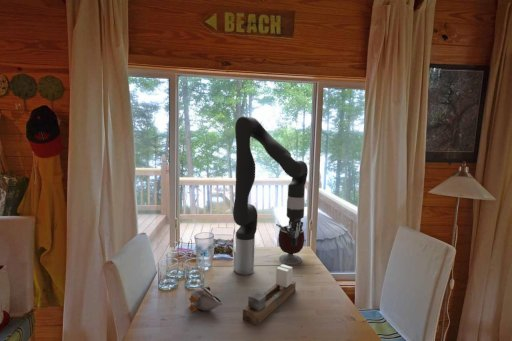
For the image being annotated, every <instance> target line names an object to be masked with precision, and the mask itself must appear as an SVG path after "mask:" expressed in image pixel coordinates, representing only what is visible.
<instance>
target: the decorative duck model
mask: <svg viewBox="0 0 512 341" xmlns="http://www.w3.org/2000/svg"><path fill="white" fill-rule="evenodd" d="M188 300H189V302H190V306H189V307H188V309H189V310H190V313H193V312H195V311H196V310H198V309H199V310H201V311H210V310H214V309H217V308H219V307H220V306H222V305H223V304H222V300H221V299H219V298H218V297H217V296H216V295H214V294H213V293H212V292H211V287H209V286H204V287H198V288H196V289H194V290H193V292H192V294H191V295H190V297H189V298H188Z"/></svg>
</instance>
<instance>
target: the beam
mask: <svg viewBox="0 0 512 341" xmlns="http://www.w3.org/2000/svg"><path fill="white" fill-rule="evenodd" d="M296 286H297V283H296V281H294V280H292V283H291V284H290V285H289V286H288V287H287V288H286V287H284V288H283V289H282V290H280V289H279V288H280V285H277V284H276V283H275V284H274V285H272V286H271V287H270V288H269V289H267V290H265V291H264V292H263V293H259V292H257V291H253V292H252V293H251V294H249V295H248V296H247V297H248V302H247V303H248V305H247V306H245V307H244V308H242V320H243V321H245V322H248V323H250V324H252V325H254V326H258V325H259V324H260V323H261V322H262V321H263V320H264V319H266V318H267V317H268V316H269V315H270V314H271V313H272V312H273V311H275V310H276V308H278V307H279V306H280V305H281V304H283V302H284V301H286V300H287V299H288V298H289V297H290V296H291V295H292V294H294V292H296Z"/></svg>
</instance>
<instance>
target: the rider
mask: <svg viewBox="0 0 512 341" xmlns="http://www.w3.org/2000/svg"><path fill="white" fill-rule="evenodd" d="M293 269H294V268H293V266H290V265H288V264H287V265H286V264H284V263H282V264H281V265H278V266H277V267H276V271H275V272H276V273H275V274H276V275H275V284H277V285H280V288H279V289H280V290H282V289H283V288H284V287H286V288H287V287H288V286H289V285H290V284H291V283H292V281H293Z"/></svg>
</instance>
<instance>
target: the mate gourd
mask: <svg viewBox="0 0 512 341" xmlns="http://www.w3.org/2000/svg"><path fill="white" fill-rule="evenodd" d="M275 226H277V227H278V228H279V231H278V237H277V238H278V246H279V248H280V250H281V251H282V252H283V253H285V254H282V255H279V259H278V260H279V261H280V263H282V264H284V265H286V264H287V265H298V263H299V264H301V263H302V262H303V261H302V260H303V259H302V257H301V256H299V255H296V254H298V253H300V252H301V250H303V247H304V244H305V232H304V228H302V229H301V232H300V234H298V237H297V245H296V246H293V245H291V237H289V236H288V234H287V231H286V227H288V226H289V225H284V226H282V225H280V224H278V223H276V224H275ZM301 261H302V262H301Z"/></svg>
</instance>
